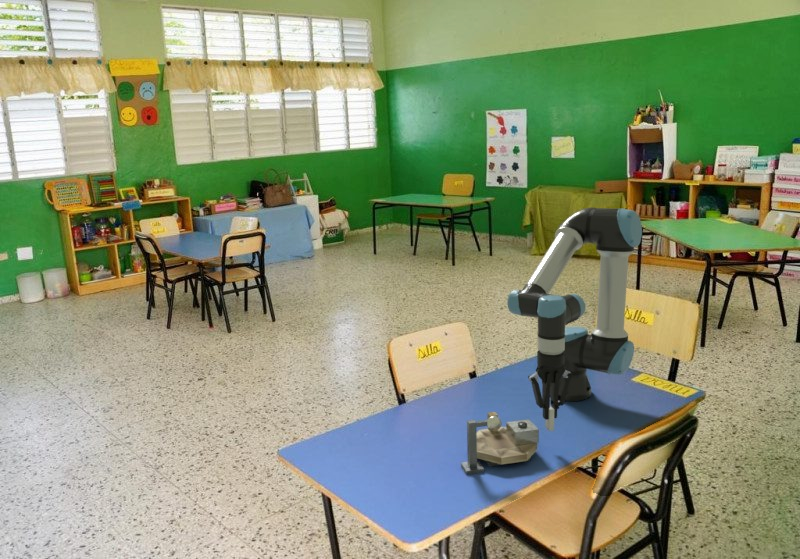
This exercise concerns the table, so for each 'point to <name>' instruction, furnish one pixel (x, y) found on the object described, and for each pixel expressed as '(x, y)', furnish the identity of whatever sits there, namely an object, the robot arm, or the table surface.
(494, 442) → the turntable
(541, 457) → the table surface
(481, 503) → the table surface
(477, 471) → the dial post
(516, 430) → the cover
